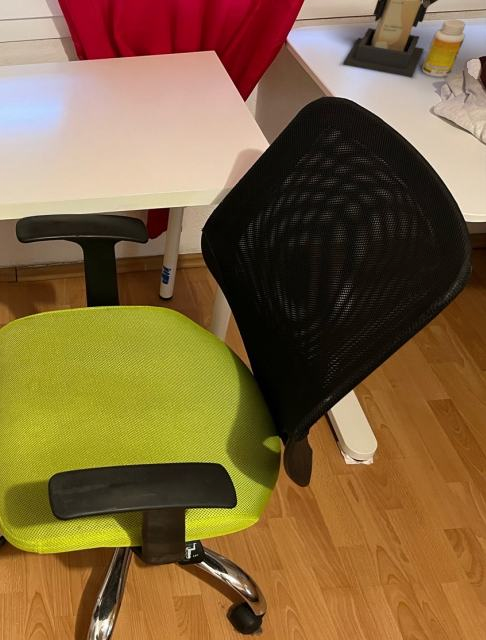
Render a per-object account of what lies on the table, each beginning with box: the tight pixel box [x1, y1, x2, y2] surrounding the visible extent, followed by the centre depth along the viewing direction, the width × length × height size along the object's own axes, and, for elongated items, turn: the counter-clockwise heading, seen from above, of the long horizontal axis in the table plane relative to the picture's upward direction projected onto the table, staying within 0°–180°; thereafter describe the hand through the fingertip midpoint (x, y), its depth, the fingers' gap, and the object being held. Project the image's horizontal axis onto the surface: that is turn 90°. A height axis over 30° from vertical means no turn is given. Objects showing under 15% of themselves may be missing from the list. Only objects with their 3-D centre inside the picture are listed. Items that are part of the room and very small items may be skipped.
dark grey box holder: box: [343, 27, 425, 78], centre depth 149 cm, size 14×14×4 cm
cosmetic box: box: [370, 0, 423, 52], centre depth 145 cm, size 6×4×12 cm
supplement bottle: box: [421, 18, 466, 78], centre depth 142 cm, size 6×6×10 cm
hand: (396, 21), depth 145 cm, fingers closed on cosmetic box, 7 cm apart
